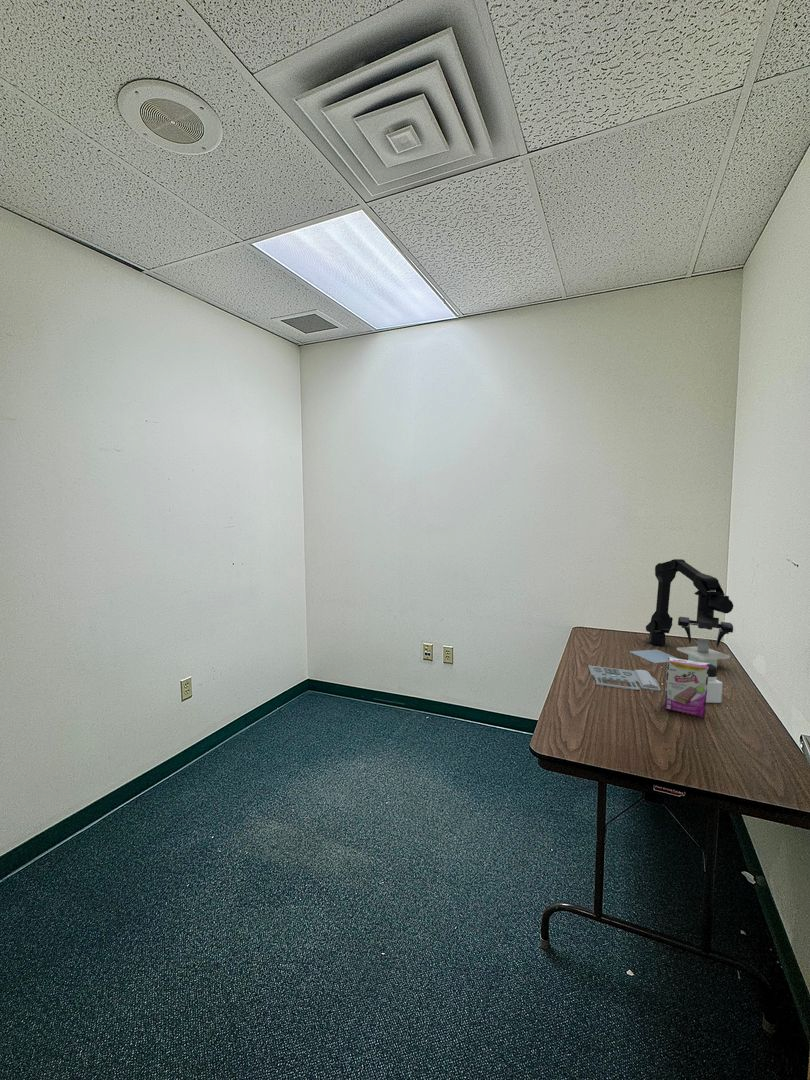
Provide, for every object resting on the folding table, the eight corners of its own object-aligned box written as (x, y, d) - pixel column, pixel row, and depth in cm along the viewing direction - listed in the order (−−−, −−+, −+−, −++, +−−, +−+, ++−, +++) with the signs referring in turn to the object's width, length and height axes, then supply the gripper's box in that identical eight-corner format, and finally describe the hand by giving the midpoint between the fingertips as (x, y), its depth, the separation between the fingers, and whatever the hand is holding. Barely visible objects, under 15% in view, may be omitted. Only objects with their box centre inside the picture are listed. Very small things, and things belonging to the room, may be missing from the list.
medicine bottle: (721, 703, 150) (724, 668, 149) (700, 702, 150) (702, 668, 149) (707, 694, 157) (710, 661, 156) (687, 693, 157) (689, 660, 156)
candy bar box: (664, 710, 144) (667, 660, 143) (664, 704, 148) (667, 656, 147) (705, 719, 139) (709, 667, 137) (704, 712, 143) (708, 662, 142)
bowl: (682, 662, 189) (682, 650, 189) (701, 661, 192) (702, 649, 191) (702, 671, 180) (703, 658, 179) (722, 669, 182) (723, 657, 181)
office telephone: (652, 669, 176) (665, 689, 156) (651, 676, 176) (664, 696, 157) (588, 661, 182) (593, 679, 163) (588, 668, 183) (593, 686, 164)
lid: (676, 650, 190) (677, 636, 190) (702, 648, 193) (703, 634, 192) (703, 660, 177) (704, 645, 177) (729, 658, 180) (730, 643, 180)
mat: (628, 652, 202) (628, 651, 202) (657, 650, 205) (657, 649, 205) (653, 664, 187) (653, 662, 187) (684, 661, 190) (684, 660, 190)
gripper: (678, 608, 182) (676, 645, 183) (735, 614, 172) (732, 654, 173) (679, 603, 191) (677, 639, 193) (733, 609, 181) (730, 646, 183)
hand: (703, 644), depth 185 cm, fingers open, 9 cm apart
